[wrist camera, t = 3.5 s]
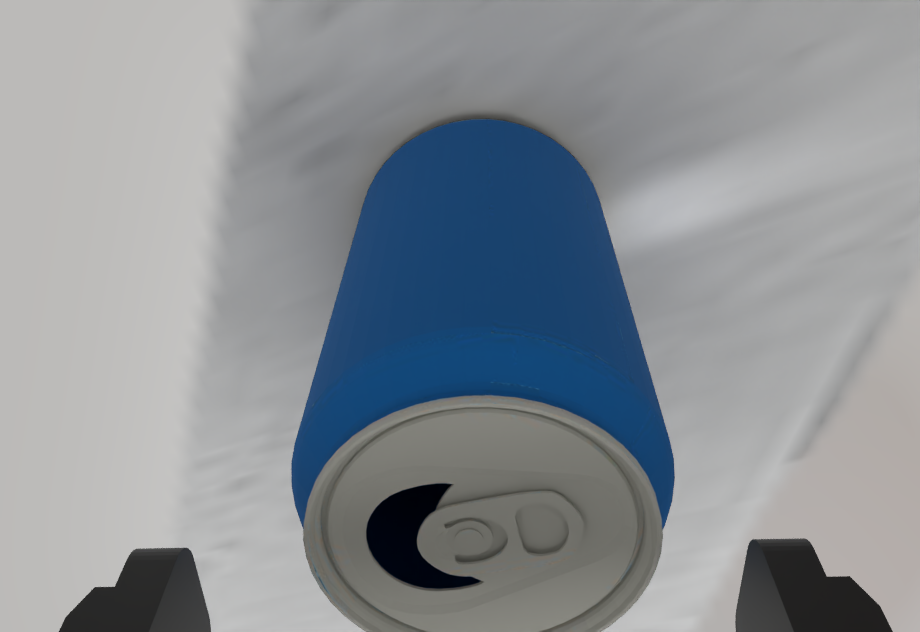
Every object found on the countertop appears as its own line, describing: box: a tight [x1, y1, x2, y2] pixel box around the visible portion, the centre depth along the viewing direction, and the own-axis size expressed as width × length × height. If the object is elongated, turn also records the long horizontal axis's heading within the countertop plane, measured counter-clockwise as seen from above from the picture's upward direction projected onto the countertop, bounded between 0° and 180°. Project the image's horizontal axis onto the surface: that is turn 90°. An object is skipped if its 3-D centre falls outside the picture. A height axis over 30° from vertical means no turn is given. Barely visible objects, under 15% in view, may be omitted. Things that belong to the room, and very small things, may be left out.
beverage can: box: [292, 119, 675, 632], centre depth 19 cm, size 6×6×12 cm
